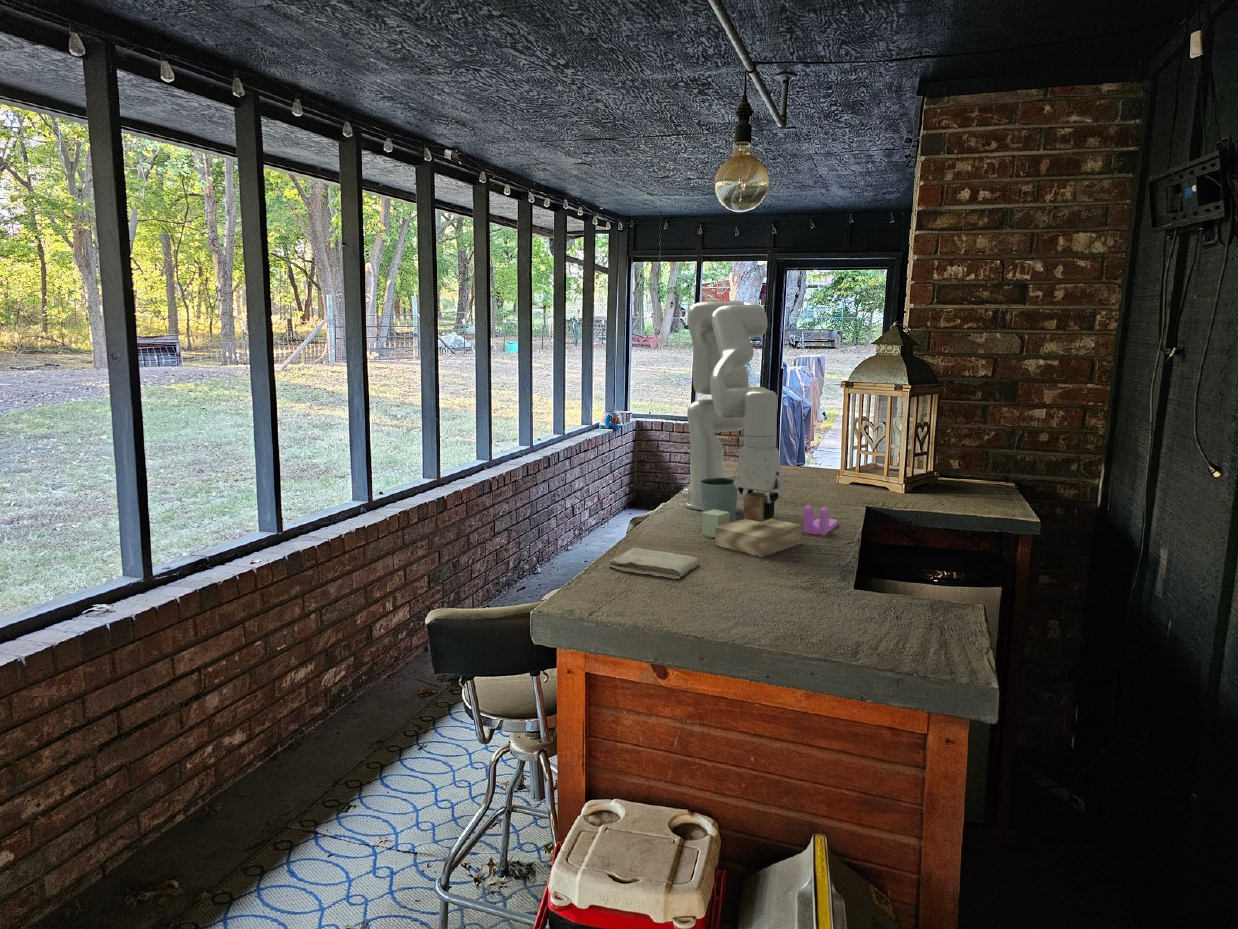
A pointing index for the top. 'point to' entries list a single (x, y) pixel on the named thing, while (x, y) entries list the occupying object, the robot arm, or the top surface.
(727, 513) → the sage cube
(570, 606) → the top surface
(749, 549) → the birch block
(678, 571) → the washcloth
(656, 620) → the top surface
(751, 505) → the walnut cube
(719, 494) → the teal cylinder
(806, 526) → the bracket
